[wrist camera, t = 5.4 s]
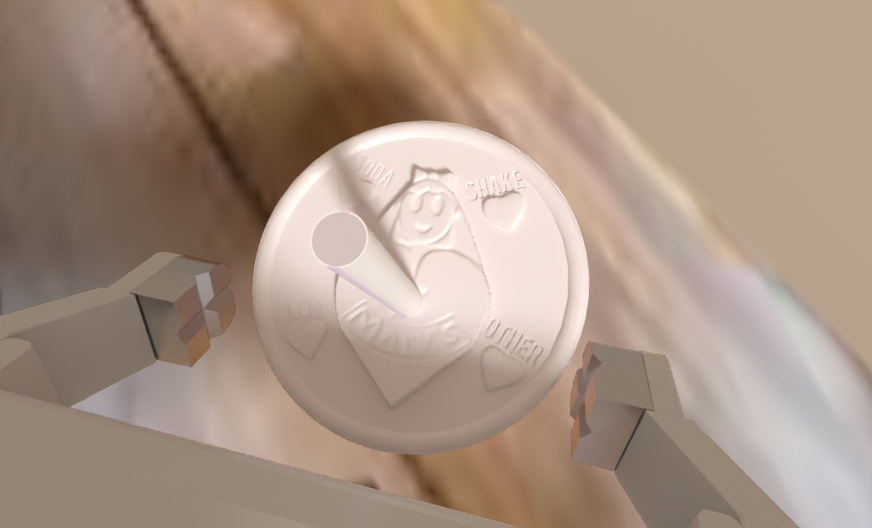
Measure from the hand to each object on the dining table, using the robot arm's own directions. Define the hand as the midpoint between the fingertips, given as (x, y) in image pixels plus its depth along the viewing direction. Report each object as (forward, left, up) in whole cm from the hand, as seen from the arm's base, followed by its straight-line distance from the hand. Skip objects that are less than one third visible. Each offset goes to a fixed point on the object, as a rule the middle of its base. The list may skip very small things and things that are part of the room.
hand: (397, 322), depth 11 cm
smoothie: (+1, 0, -8) cm, 8 cm away
